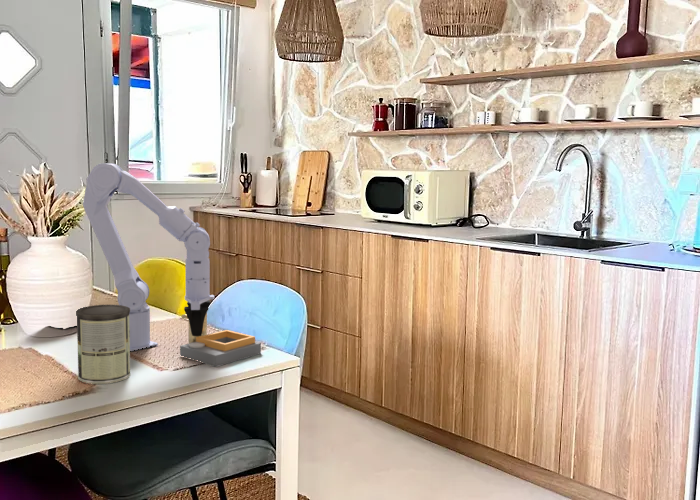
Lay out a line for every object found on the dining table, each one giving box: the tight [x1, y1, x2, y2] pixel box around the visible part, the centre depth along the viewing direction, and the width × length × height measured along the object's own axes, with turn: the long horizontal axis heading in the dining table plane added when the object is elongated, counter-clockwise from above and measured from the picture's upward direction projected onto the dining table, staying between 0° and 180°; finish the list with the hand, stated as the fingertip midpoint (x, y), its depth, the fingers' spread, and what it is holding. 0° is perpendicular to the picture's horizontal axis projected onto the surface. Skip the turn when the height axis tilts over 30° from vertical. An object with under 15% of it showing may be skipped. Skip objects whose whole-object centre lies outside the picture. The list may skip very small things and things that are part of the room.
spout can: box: [180, 312, 208, 344], centre depth 162 cm, size 6×4×8 cm
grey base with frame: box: [179, 329, 262, 368], centre depth 154 cm, size 14×12×4 cm
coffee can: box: [76, 304, 131, 385], centre depth 135 cm, size 10×10×14 cm
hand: (197, 332), depth 162 cm, fingers open, 5 cm apart
